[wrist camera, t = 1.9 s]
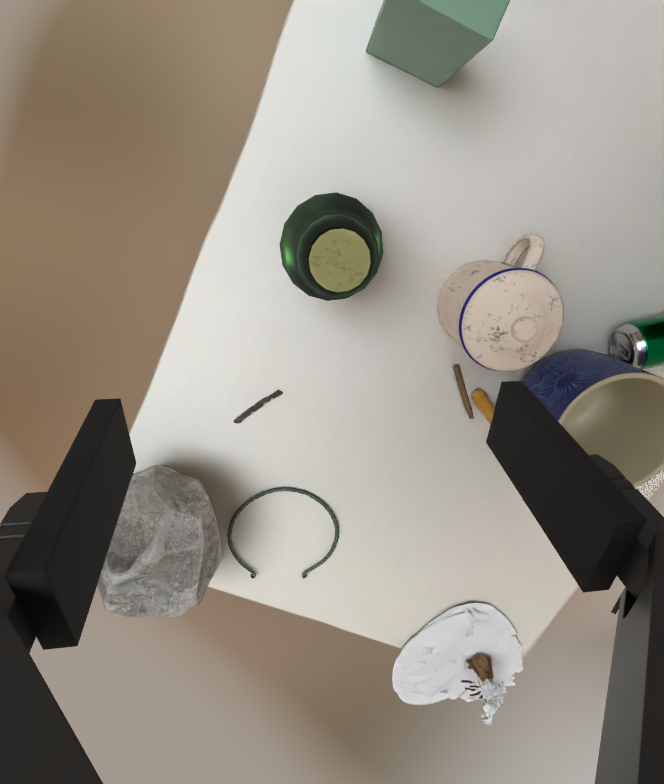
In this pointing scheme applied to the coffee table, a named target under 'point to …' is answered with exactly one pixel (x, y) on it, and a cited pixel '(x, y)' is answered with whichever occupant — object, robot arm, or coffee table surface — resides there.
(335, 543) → the bracelet
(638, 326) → the soda can
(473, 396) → the fork
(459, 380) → the stick
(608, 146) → the coffee table surface
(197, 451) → the coffee table surface
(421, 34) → the green book
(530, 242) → the teacup with lid
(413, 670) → the figurine
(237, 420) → the stick
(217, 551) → the rock
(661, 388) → the planter
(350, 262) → the potion bottle
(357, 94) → the coffee table surface
